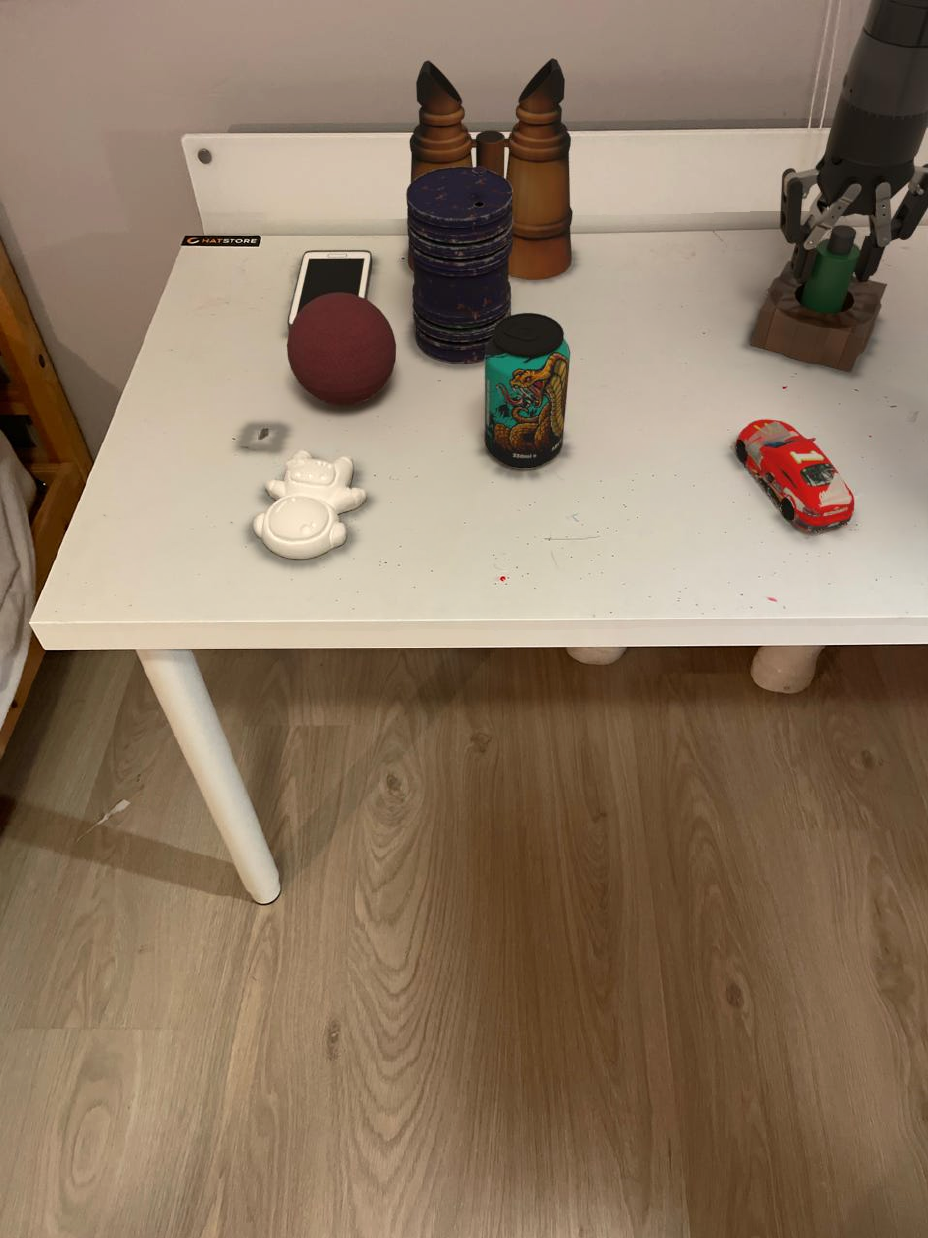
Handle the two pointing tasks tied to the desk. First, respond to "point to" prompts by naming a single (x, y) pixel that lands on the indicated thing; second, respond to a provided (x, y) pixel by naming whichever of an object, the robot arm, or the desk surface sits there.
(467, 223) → the dark blue cylinder
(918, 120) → the robot arm
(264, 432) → the dark square tile
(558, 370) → the beverage can
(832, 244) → the bottle
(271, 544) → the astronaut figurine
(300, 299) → the cell phone
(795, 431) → the race car
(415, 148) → the binoculars
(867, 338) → the ashtray
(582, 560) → the desk surface
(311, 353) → the decorative ball
